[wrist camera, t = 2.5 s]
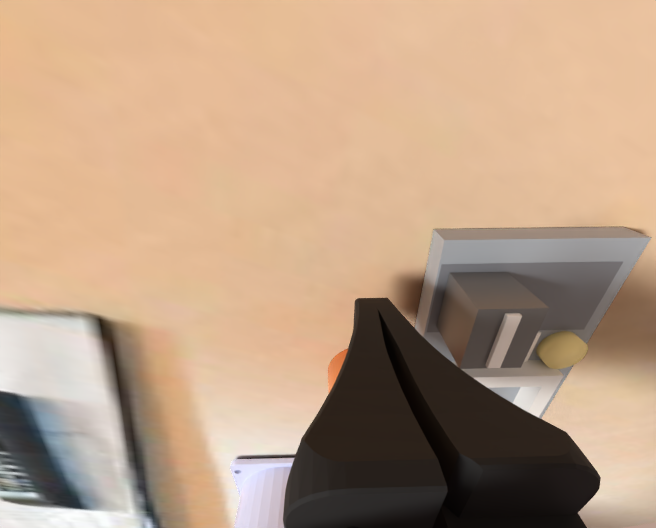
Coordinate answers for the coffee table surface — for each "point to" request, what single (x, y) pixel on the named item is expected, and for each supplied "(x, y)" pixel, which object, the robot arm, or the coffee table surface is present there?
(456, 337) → the block
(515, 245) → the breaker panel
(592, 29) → the coffee table surface
